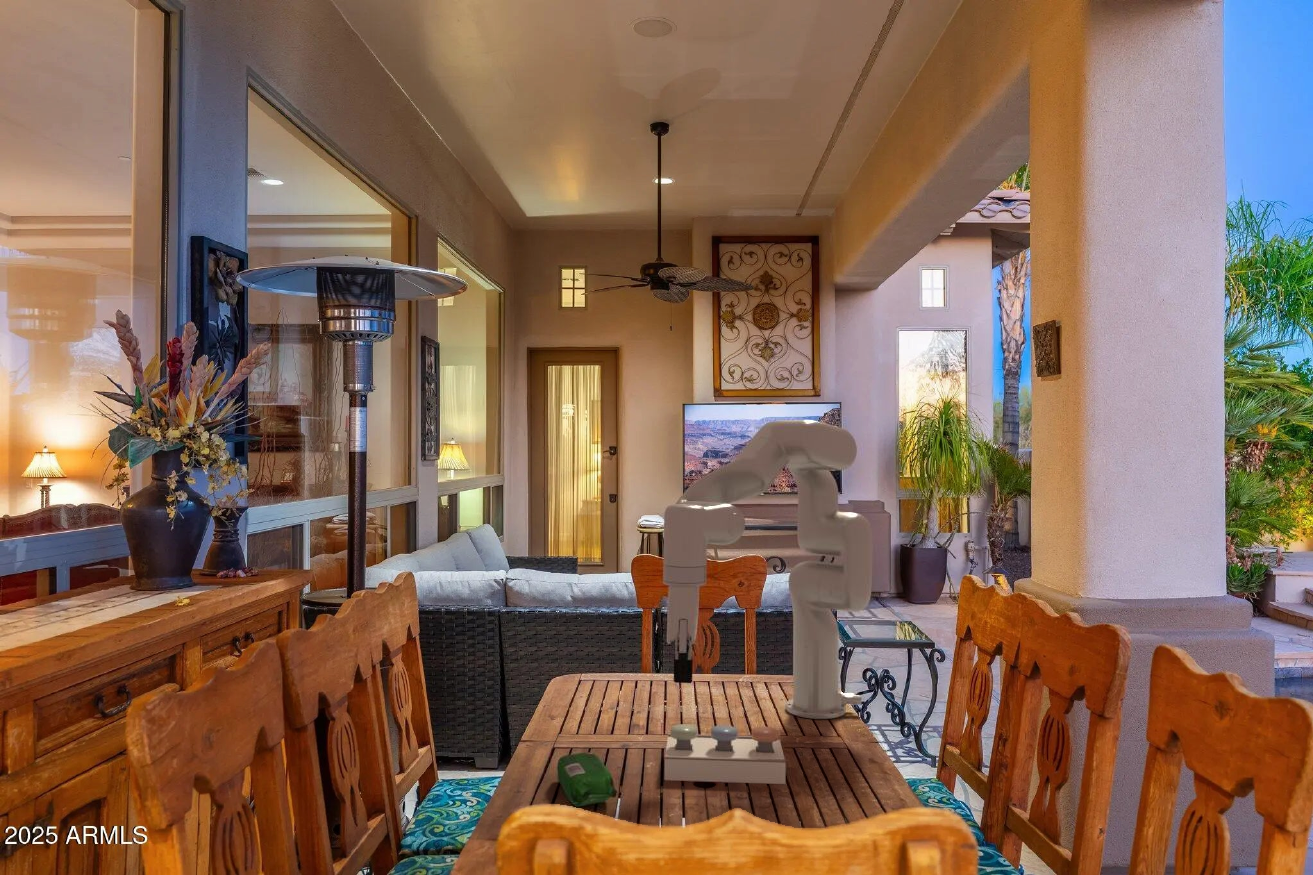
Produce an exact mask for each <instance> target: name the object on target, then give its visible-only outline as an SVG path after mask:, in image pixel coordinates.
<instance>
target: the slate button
mask: <svg viewBox="0 0 1313 875" xmlns="http://www.w3.org/2000/svg"><path fill="white" fill-rule="evenodd" d="M738 732H739V731H738V728H737V727H735V726H732V725H715V726H713V727H711V728H710V735H711V738H713V739H715V740H717V751H729V752H731V741H733V740H736V739H737V738H738V736H739V734H738Z"/></svg>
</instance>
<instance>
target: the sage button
mask: <svg viewBox="0 0 1313 875" xmlns="http://www.w3.org/2000/svg"><path fill="white" fill-rule="evenodd" d="M670 734H671V737H672V738H674V739H677V750H691V739H694V738H696V737H697V734H698V727H696V726H695V725H692V724H684V723H683V724H682V723H681V724H675V725H672V726H671V727H670Z"/></svg>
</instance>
